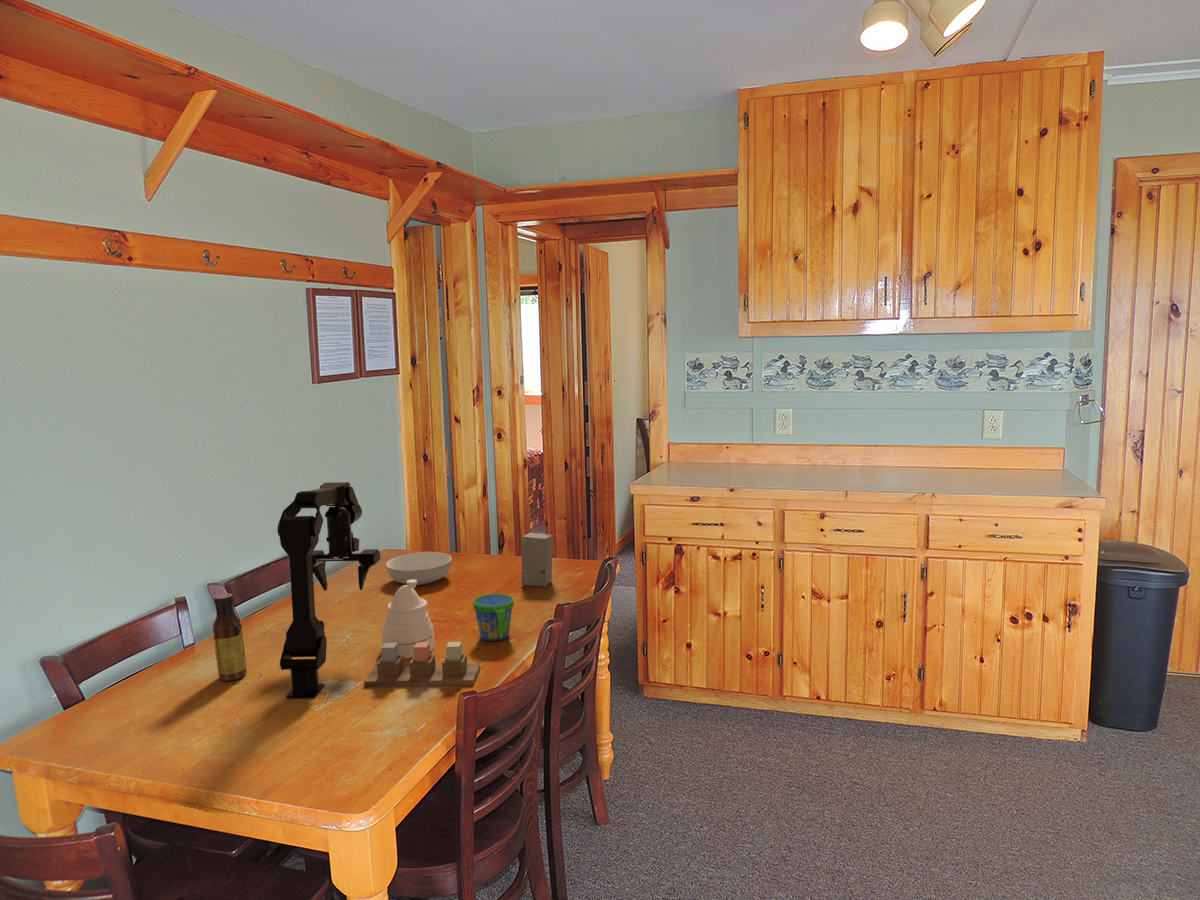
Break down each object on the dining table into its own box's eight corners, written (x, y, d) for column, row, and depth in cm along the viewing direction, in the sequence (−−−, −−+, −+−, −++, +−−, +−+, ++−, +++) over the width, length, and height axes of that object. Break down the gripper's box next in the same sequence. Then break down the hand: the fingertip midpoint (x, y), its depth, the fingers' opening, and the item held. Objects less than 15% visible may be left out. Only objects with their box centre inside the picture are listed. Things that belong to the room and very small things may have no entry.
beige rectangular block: (460, 666, 187) (459, 646, 186) (447, 666, 187) (446, 646, 186) (462, 661, 190) (461, 641, 189) (449, 661, 190) (448, 641, 189)
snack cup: (520, 645, 208) (519, 606, 206) (479, 650, 205) (477, 611, 203) (509, 624, 223) (507, 588, 221) (470, 629, 220) (468, 593, 218)
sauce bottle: (252, 674, 193) (245, 594, 190) (229, 684, 188) (221, 601, 185) (235, 669, 197) (228, 590, 194) (211, 678, 191) (204, 597, 188)
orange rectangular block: (427, 666, 187) (426, 647, 187) (414, 667, 187) (413, 647, 187) (430, 661, 190) (429, 642, 190) (417, 661, 190) (416, 642, 190)
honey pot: (443, 641, 212) (439, 574, 209) (419, 660, 199) (415, 589, 197) (399, 637, 215) (395, 571, 213) (373, 656, 203) (368, 586, 200)
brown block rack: (473, 685, 184) (472, 665, 184) (364, 686, 185) (363, 667, 184) (480, 668, 193) (479, 650, 193) (375, 670, 194) (374, 651, 193)
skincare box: (521, 585, 257) (519, 537, 255) (529, 579, 264) (528, 531, 261) (546, 587, 254) (544, 538, 252) (554, 580, 261) (552, 532, 259)
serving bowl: (385, 575, 272) (384, 555, 271) (448, 568, 278) (447, 549, 277) (388, 594, 252) (387, 572, 251) (456, 586, 258) (455, 565, 257)
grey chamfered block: (395, 667, 187) (394, 647, 187) (382, 667, 188) (381, 647, 187) (398, 662, 190) (397, 642, 190) (386, 662, 190) (384, 642, 190)
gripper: (384, 523, 214) (388, 580, 217) (314, 524, 215) (319, 581, 217) (372, 533, 203) (375, 593, 205) (298, 534, 204) (302, 594, 206)
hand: (343, 590), depth 209 cm, fingers open, 9 cm apart
